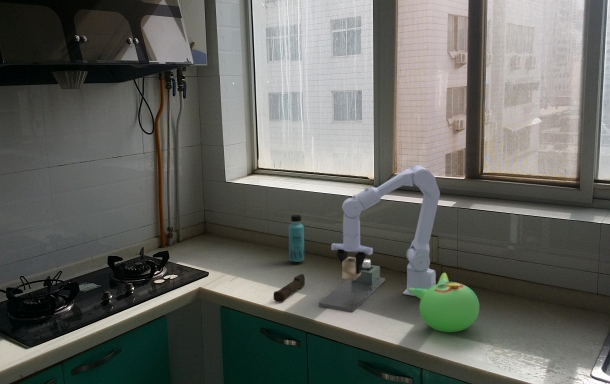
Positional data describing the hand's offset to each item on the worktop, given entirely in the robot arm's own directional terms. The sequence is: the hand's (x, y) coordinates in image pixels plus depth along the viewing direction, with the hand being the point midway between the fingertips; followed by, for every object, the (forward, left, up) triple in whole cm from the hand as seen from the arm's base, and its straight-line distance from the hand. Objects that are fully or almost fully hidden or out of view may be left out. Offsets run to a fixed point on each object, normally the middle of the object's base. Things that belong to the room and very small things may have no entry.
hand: (351, 271), depth 193 cm
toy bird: (-36, +13, -8) cm, 39 cm away
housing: (0, 0, -2) cm, 2 cm away
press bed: (0, -1, -8) cm, 8 cm away
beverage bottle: (+34, -23, -8) cm, 42 cm away
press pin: (0, -13, -4) cm, 14 cm away
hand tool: (+20, +7, -9) cm, 23 cm away
